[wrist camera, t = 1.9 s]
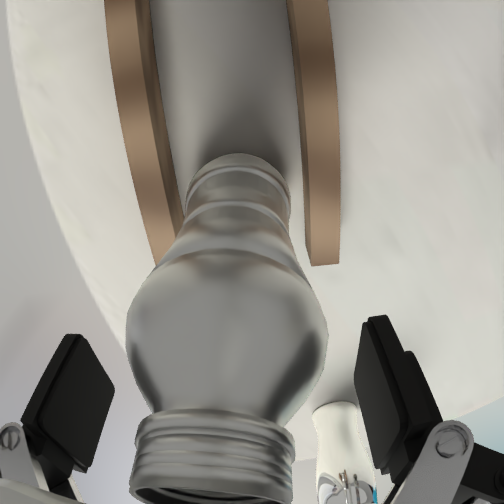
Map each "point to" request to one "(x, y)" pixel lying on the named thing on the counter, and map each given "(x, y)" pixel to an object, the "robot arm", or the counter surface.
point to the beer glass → (342, 457)
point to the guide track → (156, 138)
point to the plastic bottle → (224, 345)
